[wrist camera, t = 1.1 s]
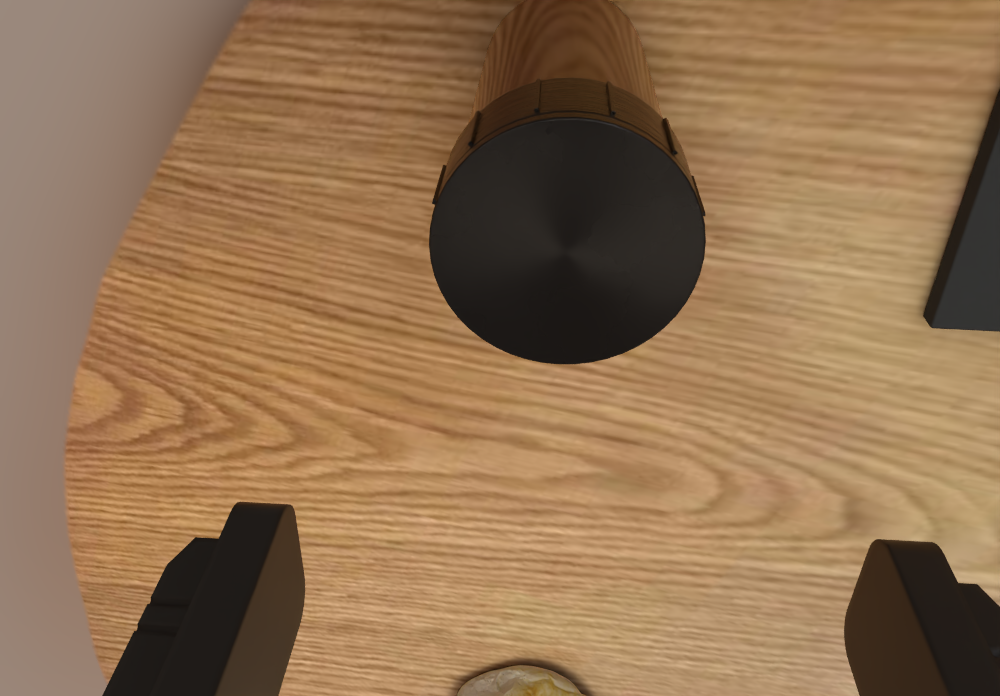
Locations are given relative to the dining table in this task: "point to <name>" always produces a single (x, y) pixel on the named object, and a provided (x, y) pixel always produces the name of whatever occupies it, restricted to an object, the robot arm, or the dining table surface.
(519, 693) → the bread roll
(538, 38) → the coffee jar
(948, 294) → the mat
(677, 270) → the jar lid
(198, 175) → the dining table surface
